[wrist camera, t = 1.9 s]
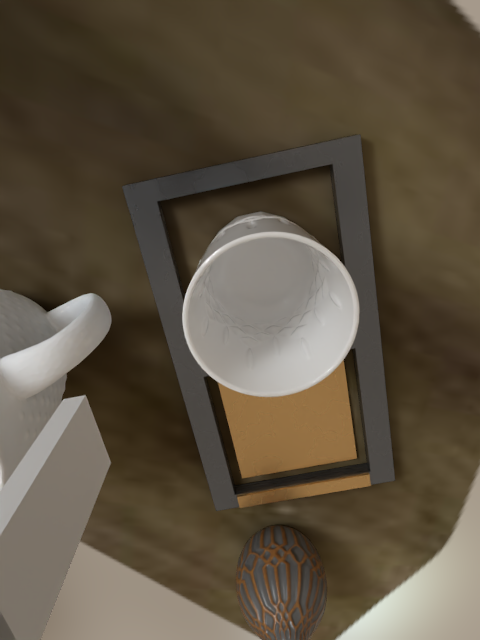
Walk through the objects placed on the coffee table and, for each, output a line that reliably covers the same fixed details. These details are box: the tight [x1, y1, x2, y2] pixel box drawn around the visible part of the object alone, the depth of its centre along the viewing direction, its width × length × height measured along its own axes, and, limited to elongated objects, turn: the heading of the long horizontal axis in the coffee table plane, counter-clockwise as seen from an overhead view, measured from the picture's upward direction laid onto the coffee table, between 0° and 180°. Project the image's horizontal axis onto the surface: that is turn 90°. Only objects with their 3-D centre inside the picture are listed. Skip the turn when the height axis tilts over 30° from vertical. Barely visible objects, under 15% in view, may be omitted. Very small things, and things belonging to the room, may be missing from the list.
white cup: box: [182, 212, 359, 397], centre depth 25 cm, size 8×8×10 cm
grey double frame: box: [122, 134, 395, 511], centre depth 31 cm, size 25×14×1 cm, turn 12°
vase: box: [236, 525, 327, 640], centre depth 34 cm, size 7×7×9 cm
